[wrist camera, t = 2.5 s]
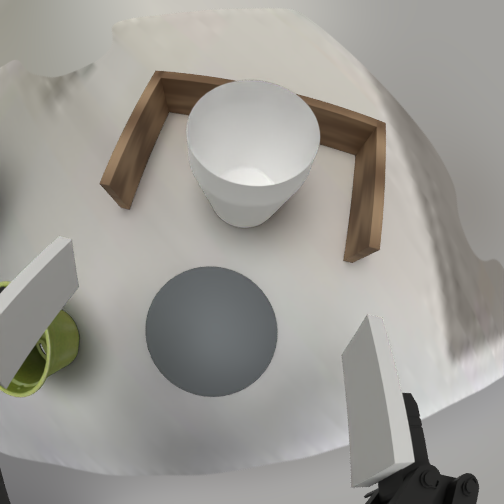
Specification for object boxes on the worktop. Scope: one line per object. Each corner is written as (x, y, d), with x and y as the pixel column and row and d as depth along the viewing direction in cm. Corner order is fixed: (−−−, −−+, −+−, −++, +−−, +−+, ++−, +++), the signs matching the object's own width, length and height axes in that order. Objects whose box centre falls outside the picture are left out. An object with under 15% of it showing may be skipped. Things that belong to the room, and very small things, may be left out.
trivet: (122, 331, 26) (120, 331, 26) (208, 241, 29) (208, 239, 28) (215, 419, 25) (214, 421, 25) (302, 328, 28) (303, 328, 27)
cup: (306, 194, 31) (347, 129, 19) (248, 259, 29) (262, 219, 17) (240, 142, 31) (248, 62, 20) (180, 199, 29) (155, 131, 18)
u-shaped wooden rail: (352, 262, 29) (379, 249, 24) (121, 207, 29) (99, 183, 23) (363, 150, 32) (385, 123, 26) (164, 104, 32) (155, 70, 26)
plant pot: (63, 274, 27) (14, 257, 18) (112, 350, 26) (69, 361, 17) (13, 323, 25) (-38, 321, 17) (56, 396, 24) (9, 415, 16)
